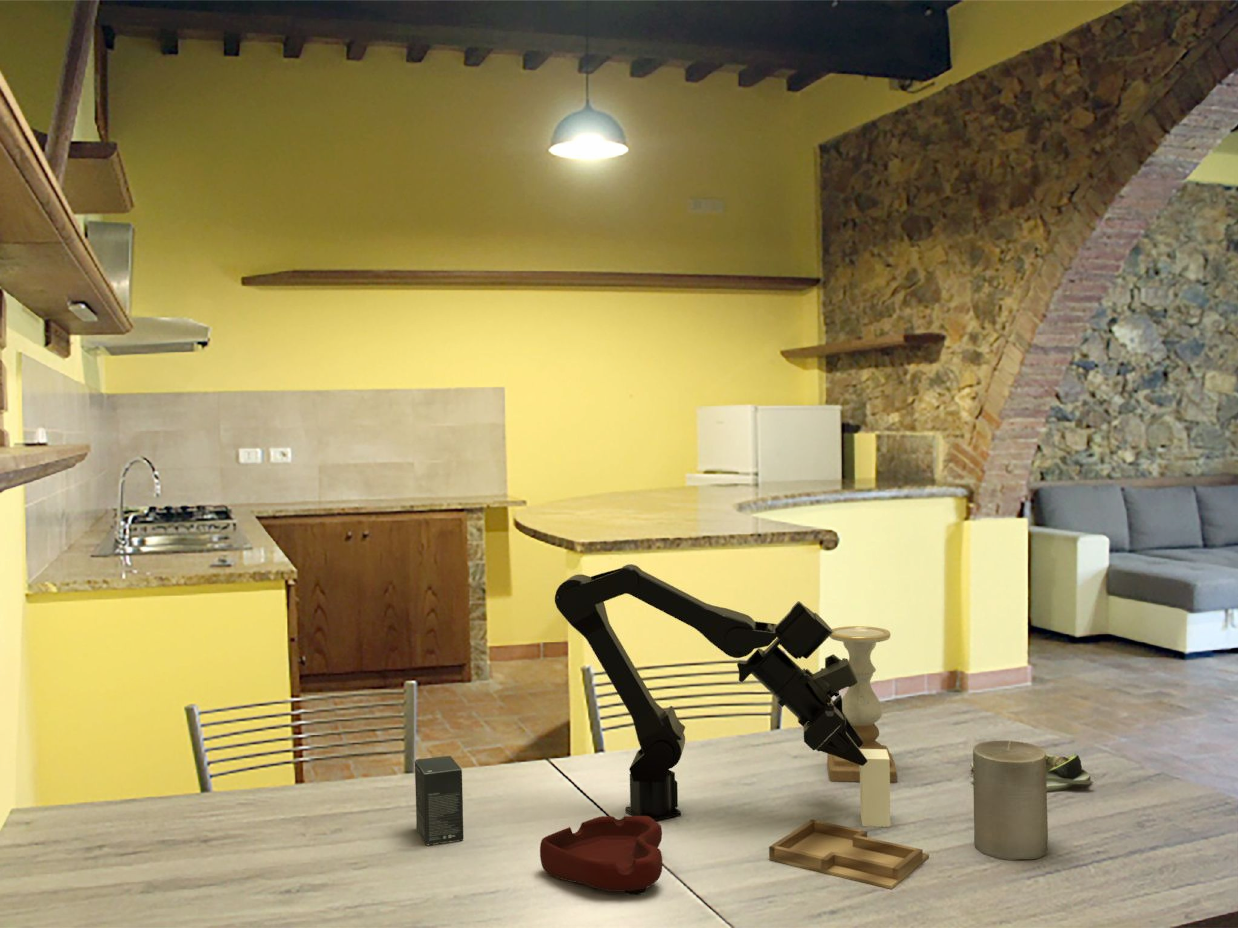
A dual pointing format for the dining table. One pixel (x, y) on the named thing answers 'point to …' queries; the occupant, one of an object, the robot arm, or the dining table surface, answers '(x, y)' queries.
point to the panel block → (875, 788)
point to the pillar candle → (1010, 800)
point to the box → (439, 800)
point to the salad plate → (1063, 773)
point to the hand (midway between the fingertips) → (863, 753)
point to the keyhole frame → (847, 854)
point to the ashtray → (606, 854)
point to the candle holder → (860, 699)
